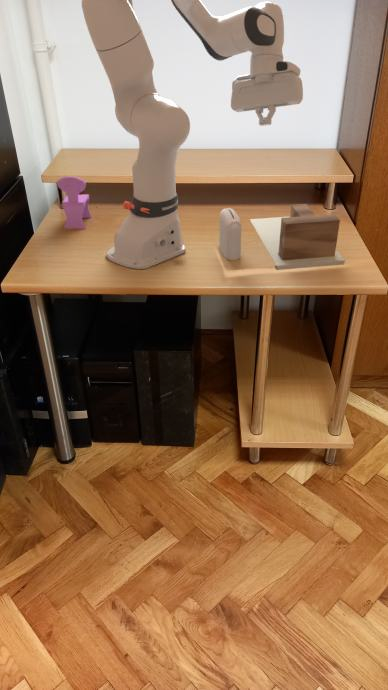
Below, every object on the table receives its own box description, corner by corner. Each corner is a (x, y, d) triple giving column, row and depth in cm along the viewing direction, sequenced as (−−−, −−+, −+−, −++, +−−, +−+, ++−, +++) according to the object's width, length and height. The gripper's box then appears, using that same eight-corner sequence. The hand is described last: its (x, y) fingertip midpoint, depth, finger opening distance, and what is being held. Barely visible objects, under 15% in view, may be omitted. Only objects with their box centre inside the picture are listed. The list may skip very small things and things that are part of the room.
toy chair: (95, 217, 176) (89, 168, 168) (88, 228, 169) (82, 178, 160) (68, 216, 177) (61, 167, 168) (61, 228, 170) (53, 178, 161)
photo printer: (217, 247, 158) (218, 204, 151) (232, 246, 159) (234, 203, 152) (226, 264, 150) (227, 220, 143) (242, 263, 150) (244, 218, 143)
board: (249, 223, 171) (249, 219, 171) (308, 218, 173) (308, 215, 173) (276, 270, 147) (276, 265, 146) (343, 264, 149) (344, 260, 149)
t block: (270, 240, 158) (273, 206, 153) (319, 237, 160) (323, 202, 154) (282, 260, 149) (285, 224, 143) (334, 256, 150) (339, 220, 145)
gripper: (227, 74, 158) (226, 126, 161) (297, 61, 148) (295, 118, 150) (237, 80, 164) (236, 130, 166) (306, 68, 153) (304, 123, 155)
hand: (265, 124), depth 158 cm, fingers closed
